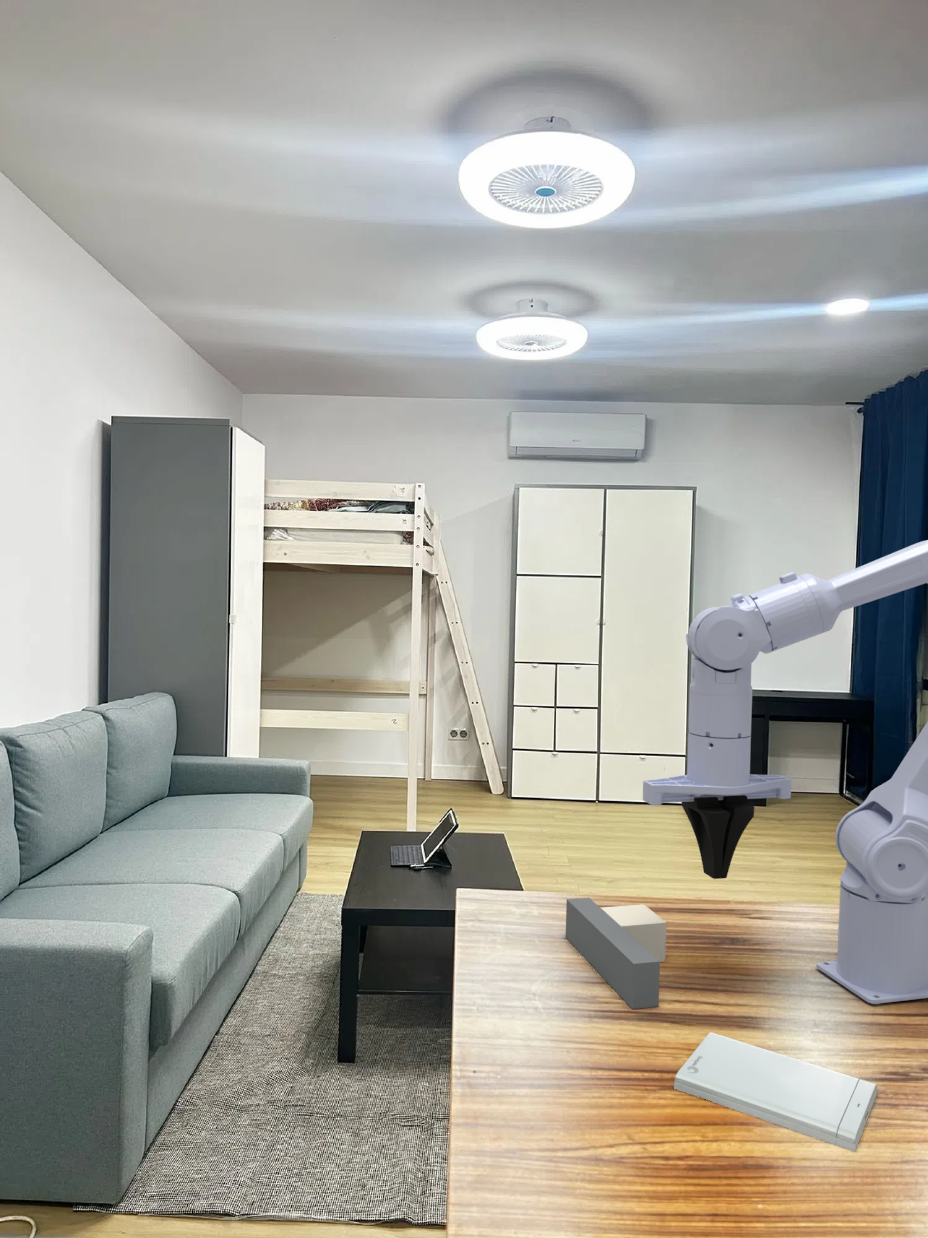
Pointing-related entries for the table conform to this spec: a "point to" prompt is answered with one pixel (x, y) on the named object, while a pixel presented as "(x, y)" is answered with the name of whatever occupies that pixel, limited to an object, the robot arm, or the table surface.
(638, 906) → the cream block
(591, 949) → the gray bar
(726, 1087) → the hard drive
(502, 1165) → the table surface
